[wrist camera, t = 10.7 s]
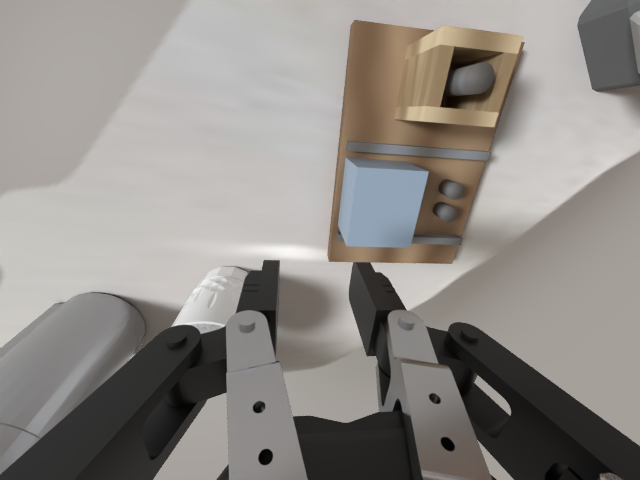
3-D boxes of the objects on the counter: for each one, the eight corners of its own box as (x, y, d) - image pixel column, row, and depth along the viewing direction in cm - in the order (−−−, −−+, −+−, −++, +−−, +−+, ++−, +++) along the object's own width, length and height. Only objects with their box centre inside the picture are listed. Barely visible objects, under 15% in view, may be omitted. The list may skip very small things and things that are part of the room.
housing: (337, 225, 29) (346, 246, 24) (345, 157, 26) (357, 167, 21) (391, 227, 30) (410, 247, 25) (405, 161, 27) (428, 171, 22)
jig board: (327, 255, 32) (339, 300, 24) (350, 25, 23) (381, -18, 15) (445, 257, 34) (491, 300, 26) (511, 46, 25) (611, 17, 17)
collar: (394, 119, 25) (423, 121, 20) (407, 46, 23) (444, 25, 17) (451, 124, 26) (494, 127, 20) (469, 53, 23) (523, 35, 18)
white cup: (276, 293, 34) (271, 359, 25) (227, 324, 35) (206, 398, 26) (232, 248, 31) (208, 306, 22) (180, 284, 32) (138, 353, 23)
